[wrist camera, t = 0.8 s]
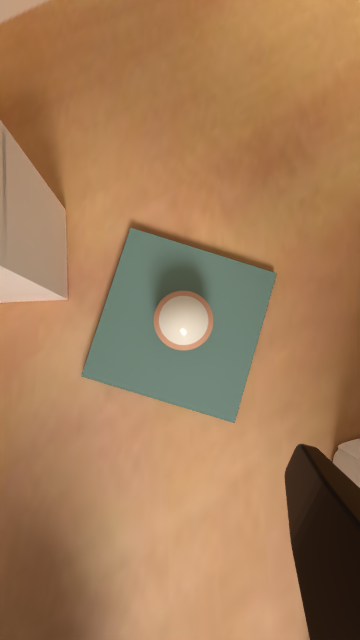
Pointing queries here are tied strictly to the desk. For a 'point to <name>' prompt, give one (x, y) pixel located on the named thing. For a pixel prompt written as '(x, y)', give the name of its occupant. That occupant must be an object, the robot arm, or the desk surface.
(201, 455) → the desk surface
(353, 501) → the robot arm
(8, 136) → the white lidded box
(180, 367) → the mat
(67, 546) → the desk surface
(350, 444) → the photo printer
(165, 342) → the beige short cylinder
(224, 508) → the desk surface
